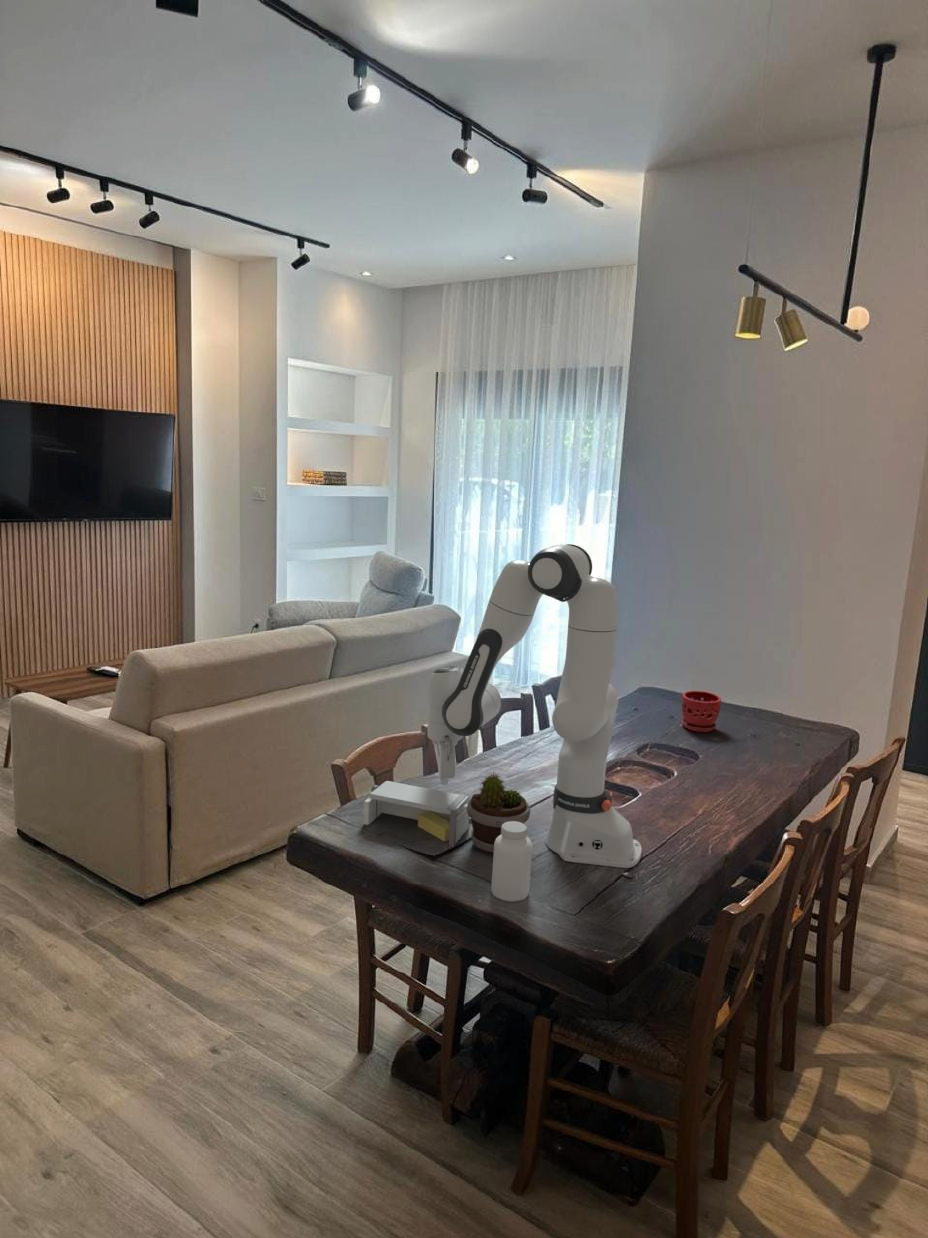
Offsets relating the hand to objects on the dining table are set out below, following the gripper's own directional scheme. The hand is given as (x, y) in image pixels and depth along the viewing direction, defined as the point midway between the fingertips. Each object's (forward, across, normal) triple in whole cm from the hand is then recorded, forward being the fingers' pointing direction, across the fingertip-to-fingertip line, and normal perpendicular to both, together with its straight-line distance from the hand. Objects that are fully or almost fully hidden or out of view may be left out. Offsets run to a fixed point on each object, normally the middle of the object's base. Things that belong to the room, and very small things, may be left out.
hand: (443, 782), depth 209 cm
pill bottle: (+9, -39, -11) cm, 42 cm away
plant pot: (+9, +71, -95) cm, 119 cm away
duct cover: (+1, -8, +7) cm, 11 cm away
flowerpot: (+9, -18, -11) cm, 23 cm away
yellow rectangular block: (+8, -11, +2) cm, 14 cm away
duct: (+8, -8, +7) cm, 13 cm away
